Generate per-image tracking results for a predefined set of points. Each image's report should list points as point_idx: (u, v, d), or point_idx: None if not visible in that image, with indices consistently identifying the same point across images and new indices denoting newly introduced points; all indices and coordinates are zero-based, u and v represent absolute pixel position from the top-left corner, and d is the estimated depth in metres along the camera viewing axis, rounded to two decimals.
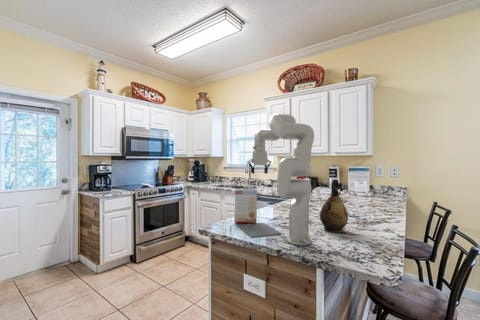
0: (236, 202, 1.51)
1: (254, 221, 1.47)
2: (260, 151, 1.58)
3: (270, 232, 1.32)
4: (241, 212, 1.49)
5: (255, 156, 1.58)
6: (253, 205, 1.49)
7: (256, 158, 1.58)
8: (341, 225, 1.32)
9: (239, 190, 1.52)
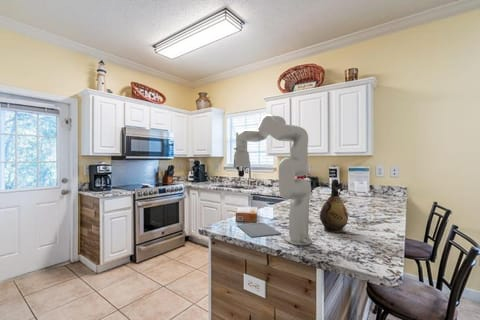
0: (239, 208, 1.66)
1: (255, 213, 1.54)
2: (242, 152, 1.56)
3: (270, 232, 1.32)
4: (243, 210, 1.60)
5: (236, 157, 1.55)
6: (254, 209, 1.64)
7: (238, 159, 1.55)
8: (341, 225, 1.32)
9: (242, 206, 1.74)
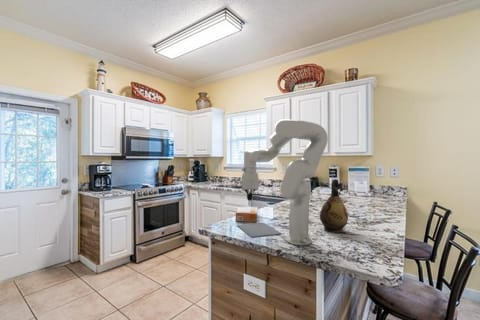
0: (239, 208, 1.66)
1: (255, 213, 1.54)
2: (250, 174, 1.42)
3: (270, 232, 1.32)
4: (243, 210, 1.60)
5: (245, 179, 1.41)
6: (254, 209, 1.64)
7: (246, 181, 1.41)
8: (341, 225, 1.32)
9: (242, 206, 1.74)
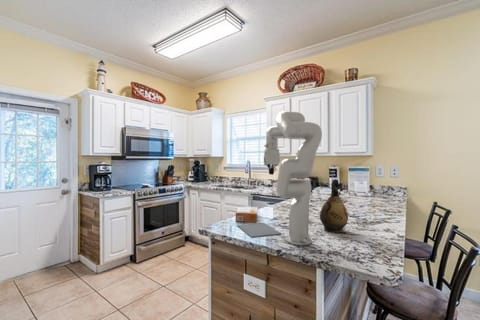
0: (239, 208, 1.66)
1: (255, 213, 1.54)
2: (272, 149, 1.54)
3: (270, 232, 1.32)
4: (243, 210, 1.60)
5: (267, 154, 1.53)
6: (254, 209, 1.64)
7: (268, 156, 1.53)
8: (341, 225, 1.32)
9: (242, 206, 1.74)
